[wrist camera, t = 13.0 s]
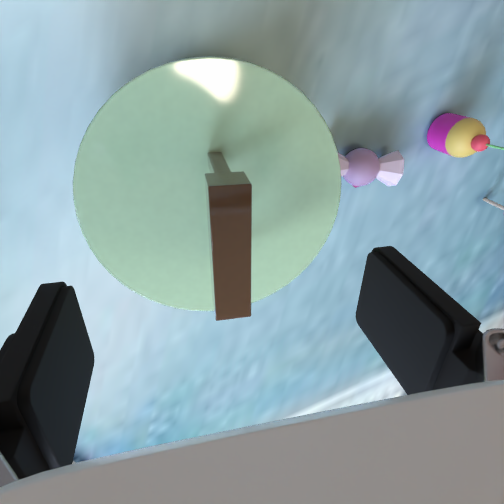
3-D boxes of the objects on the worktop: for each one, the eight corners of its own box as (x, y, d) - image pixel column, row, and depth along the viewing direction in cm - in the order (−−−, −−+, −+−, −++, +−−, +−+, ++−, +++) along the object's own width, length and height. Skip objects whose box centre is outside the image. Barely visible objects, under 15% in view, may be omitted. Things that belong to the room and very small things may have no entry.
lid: (108, 311, 21) (86, 402, 16) (43, 55, 15) (-35, 59, 9) (320, 287, 24) (364, 358, 18) (349, 56, 17) (435, 60, 11)
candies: (310, 205, 29) (340, 238, 24) (329, 102, 26) (370, 115, 20) (488, 208, 33) (546, 237, 28) (528, 119, 29) (604, 134, 24)
